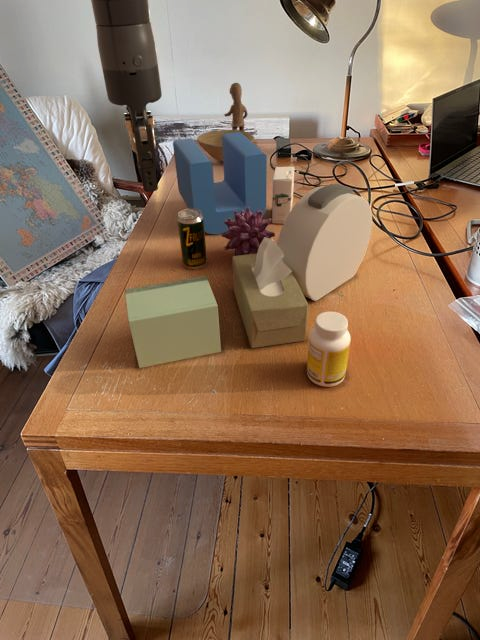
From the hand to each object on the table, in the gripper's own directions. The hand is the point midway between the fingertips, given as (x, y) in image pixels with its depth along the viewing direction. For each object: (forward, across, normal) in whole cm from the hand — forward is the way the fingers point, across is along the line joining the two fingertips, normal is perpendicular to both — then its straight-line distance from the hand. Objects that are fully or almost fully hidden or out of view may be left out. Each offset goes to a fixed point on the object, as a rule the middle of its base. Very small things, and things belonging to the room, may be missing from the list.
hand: (148, 182), depth 72 cm
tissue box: (+26, +6, +18) cm, 32 cm away
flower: (+26, -14, +20) cm, 36 cm away
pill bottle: (+26, +24, +22) cm, 42 cm away
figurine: (+26, -92, +38) cm, 102 cm away
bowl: (+26, -76, +30) cm, 86 cm away
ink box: (+26, -32, +34) cm, 53 cm away
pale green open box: (+26, +10, 0) cm, 27 cm away
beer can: (+26, -16, +8) cm, 31 cm away
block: (+26, -36, +19) cm, 48 cm away
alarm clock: (+26, 0, +32) cm, 41 cm away
